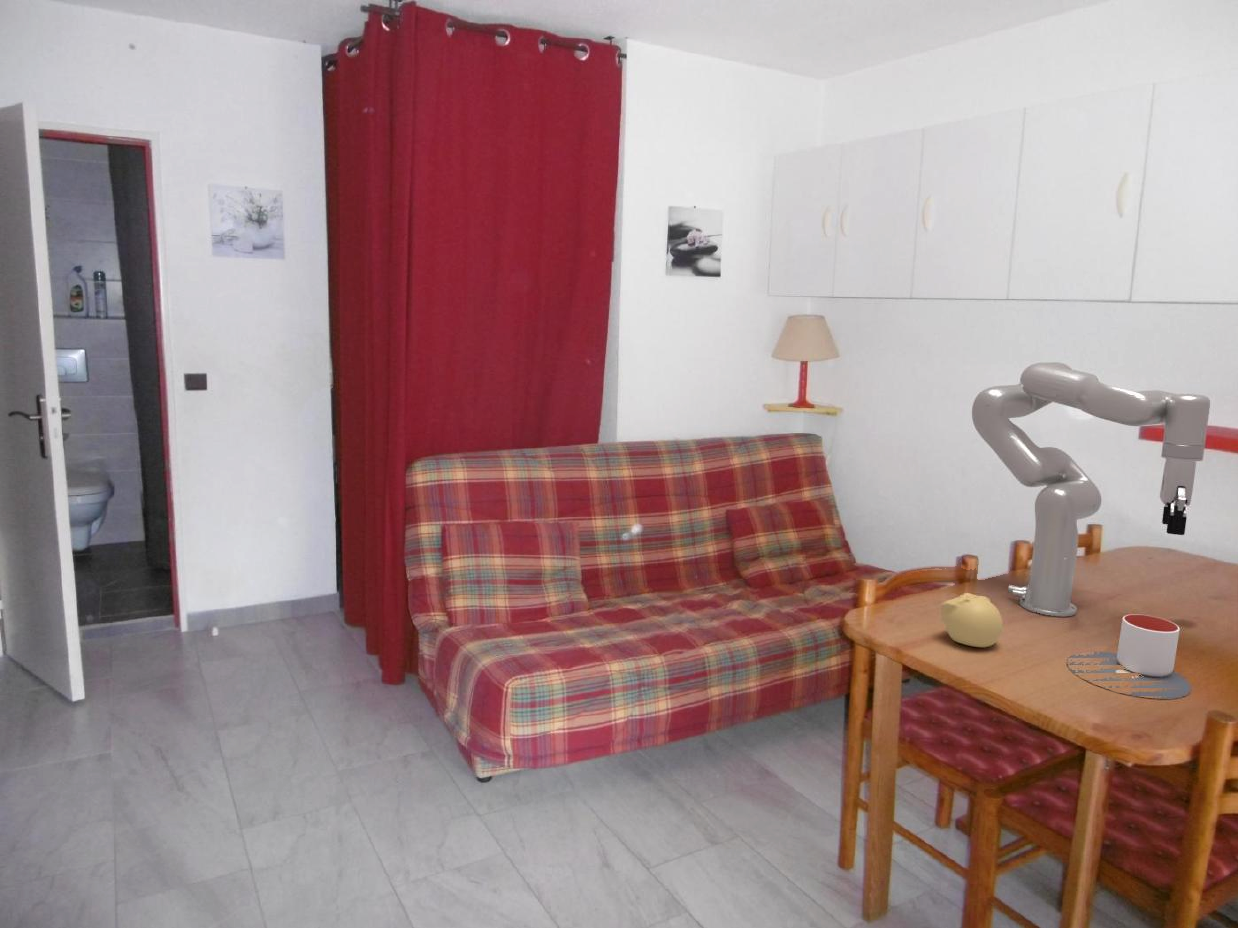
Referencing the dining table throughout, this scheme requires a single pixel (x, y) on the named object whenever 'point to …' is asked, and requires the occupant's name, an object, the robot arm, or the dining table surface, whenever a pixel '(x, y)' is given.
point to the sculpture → (972, 620)
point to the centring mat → (1140, 678)
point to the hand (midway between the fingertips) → (1172, 529)
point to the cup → (1147, 645)
